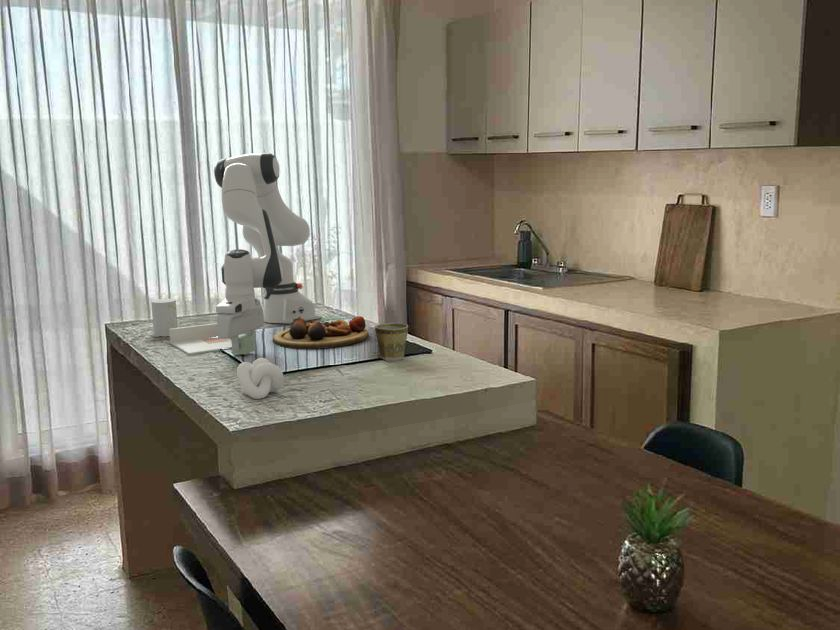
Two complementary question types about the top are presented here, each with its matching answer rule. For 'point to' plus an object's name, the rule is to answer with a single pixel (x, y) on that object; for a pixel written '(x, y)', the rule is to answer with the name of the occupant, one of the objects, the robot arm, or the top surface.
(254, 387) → the white knot sculpture
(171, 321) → the cup
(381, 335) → the ceramic cup
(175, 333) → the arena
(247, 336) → the cube
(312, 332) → the wooden plate with food
